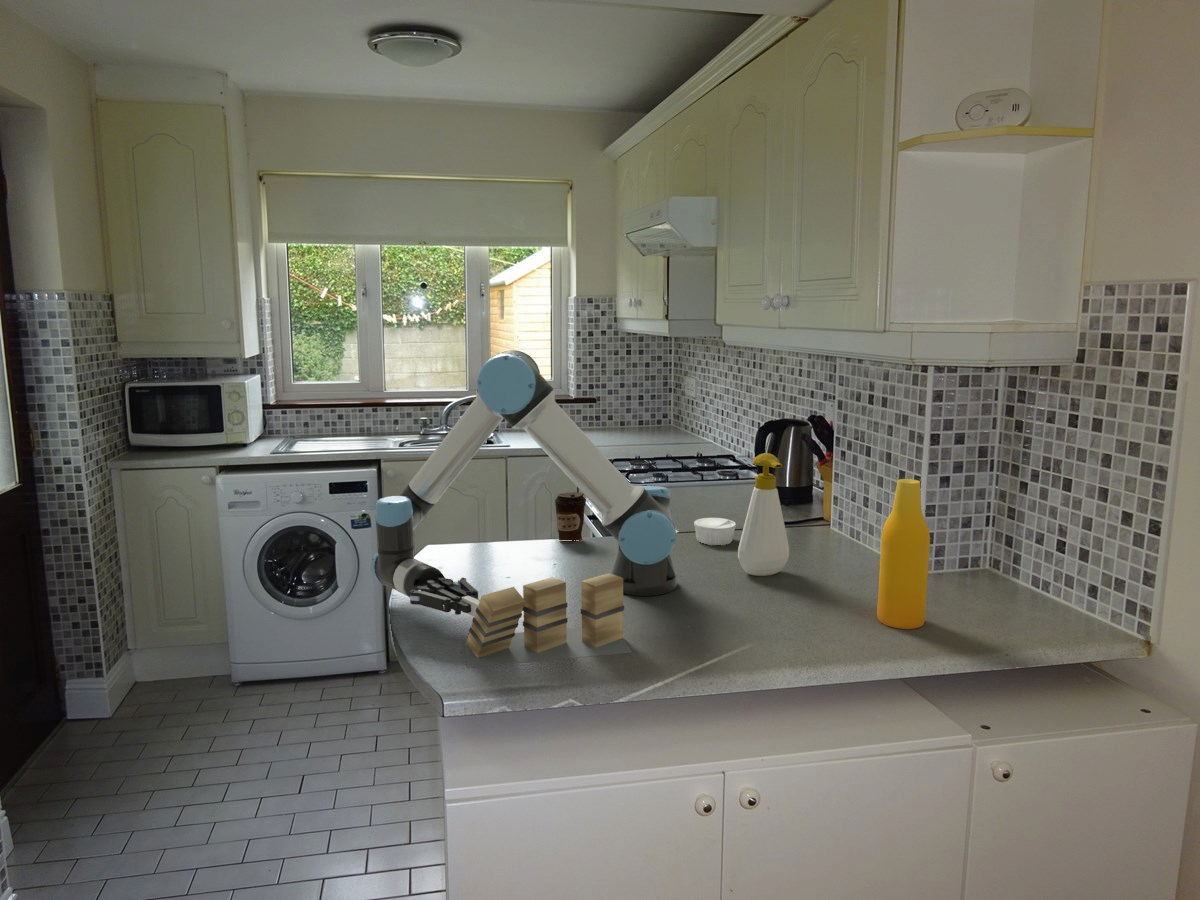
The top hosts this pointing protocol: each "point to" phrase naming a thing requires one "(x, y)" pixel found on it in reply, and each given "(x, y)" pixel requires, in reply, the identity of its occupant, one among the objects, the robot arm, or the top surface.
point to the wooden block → (545, 614)
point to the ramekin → (714, 531)
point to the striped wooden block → (495, 622)
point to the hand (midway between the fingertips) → (484, 612)
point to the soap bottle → (764, 525)
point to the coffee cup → (570, 516)
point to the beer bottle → (904, 560)
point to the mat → (545, 651)
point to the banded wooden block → (602, 609)
